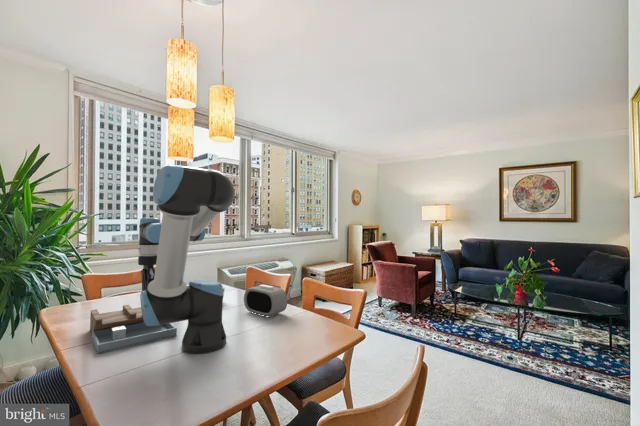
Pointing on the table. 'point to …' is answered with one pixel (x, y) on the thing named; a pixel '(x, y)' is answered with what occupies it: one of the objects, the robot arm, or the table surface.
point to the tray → (132, 336)
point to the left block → (118, 333)
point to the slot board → (115, 318)
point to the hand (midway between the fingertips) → (146, 312)
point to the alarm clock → (265, 300)
